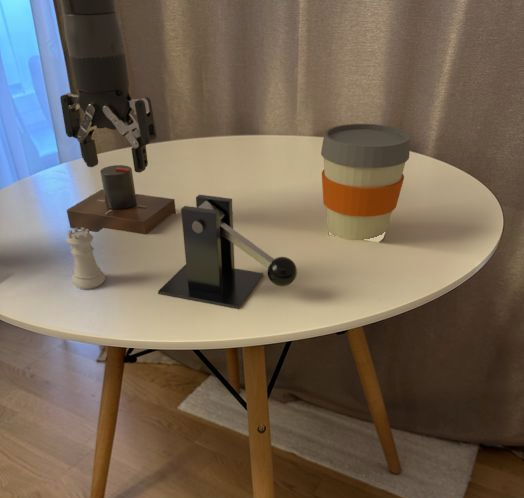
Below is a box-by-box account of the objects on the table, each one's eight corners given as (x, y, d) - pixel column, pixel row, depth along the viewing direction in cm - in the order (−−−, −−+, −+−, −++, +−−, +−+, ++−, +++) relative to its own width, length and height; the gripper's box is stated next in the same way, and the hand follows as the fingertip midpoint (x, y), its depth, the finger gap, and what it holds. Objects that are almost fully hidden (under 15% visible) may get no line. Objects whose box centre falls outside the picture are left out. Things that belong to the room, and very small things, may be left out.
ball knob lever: (291, 283, 69) (306, 263, 67) (282, 297, 66) (297, 277, 64) (198, 216, 68) (210, 194, 66) (185, 227, 65) (197, 204, 63)
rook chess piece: (65, 292, 71) (51, 235, 67) (87, 277, 75) (75, 222, 70) (93, 299, 70) (80, 241, 65) (114, 284, 73) (104, 227, 68)
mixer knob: (100, 207, 87) (93, 170, 84) (116, 197, 91) (110, 161, 87) (126, 211, 86) (120, 174, 82) (142, 200, 90) (137, 164, 86)
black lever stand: (263, 281, 74) (263, 196, 67) (238, 315, 67) (235, 224, 60) (189, 269, 77) (182, 185, 70) (158, 300, 70) (146, 211, 63)
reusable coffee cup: (409, 228, 87) (425, 130, 79) (377, 258, 79) (391, 152, 70) (338, 212, 93) (346, 119, 84) (301, 238, 85) (306, 138, 76)
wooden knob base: (70, 227, 88) (65, 208, 86) (104, 205, 96) (101, 188, 94) (146, 239, 84) (144, 220, 83) (176, 216, 92) (174, 197, 90)
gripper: (155, 48, 76) (168, 165, 86) (69, 45, 80) (90, 157, 90) (127, 57, 71) (144, 181, 80) (36, 52, 75) (63, 171, 84)
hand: (116, 168), depth 85 cm, fingers open, 8 cm apart
